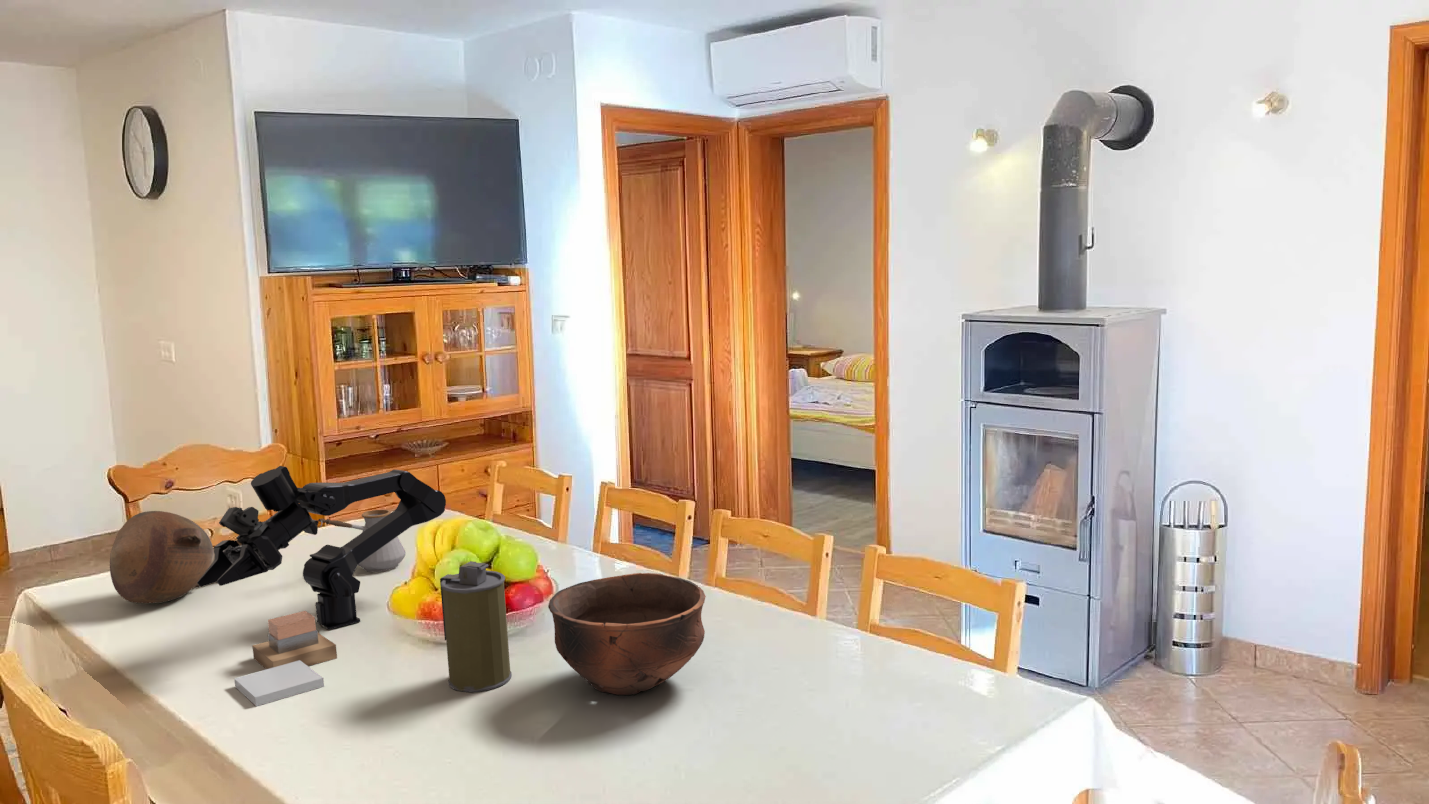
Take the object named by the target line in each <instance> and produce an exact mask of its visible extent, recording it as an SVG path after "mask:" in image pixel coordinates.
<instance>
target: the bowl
mask: <svg viewBox="0 0 1429 804" xmlns="http://www.w3.org/2000/svg"><path fill="white" fill-rule="evenodd" d="M706 598H707V595H706V594H705V592H704V590H703V589H702V588H701V587H700V586H699V585H698V584H696V583H695V582H692V581H691V580H688V579H684V578H681V577H678V576H671V575H666V574H663V573H656V572H655V573H653V572H643V573H642V572H637V573H636V572H634V573H628V574H626V573H625V574H622V575H617V576H608V577H602V578H598V579H597V578H596V579H591V580H586V581H583V582H578V583H576V584H572V585H570V586H566V588H562V589H560V590H558V591H557V592H556V593H555V594H553V596H552V597H551V598H550V599H549V601H548V607H547V608H548V610H549V612H550V613H551V615H552V621H553V624H554V626H553V627H554V628H553V629H554V645H555V648H556V651H557V652H558V654H560V656H561V658H562V660H564V661H565V662H566V663H567V664H568V666H569V667H570V668H572V670H573V671H575V672H576V673H577V674H578V675H579V676H580V677H581V678H583V679H584V680H585V681H586V682H588V684H590V686H591V687H593V688H594V689H596V690H597V691H599V692H602V693H609V694H612V695H618V696H625V695H626V696H630V695H636V694H639V693H641V692H647V691H648V690H650V689H653V688H654V687H657V686H658V685H660V684H662V683H664V682H666V681H667V680H668V679H670V678H671V677H673V676H674V675H676V673H678V672H679V671H680V670H681V669H682V668H683V667H684V666H686V664H687V663H689V662H690V660H691V659H692V657H694V656H695V655H696V653H697V652H698V650H699V649H700V647H701V646H702V645H703V642H704V639H705V633H706V632H705V631H706V630H705V628H704V625H703V619H702V613H703V607H704V604H705V601H706Z"/></svg>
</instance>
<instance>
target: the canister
mask: <svg viewBox="0 0 1429 804" xmlns="http://www.w3.org/2000/svg"><path fill="white" fill-rule="evenodd" d="M489 567H490V566H489V564H488V563H485V562H477V561H474V560H473V561H471V560H470V561H468V562H466V563H465V564H462V565H461V566H459V567H458V569H459V570H458V573H455V574H449V573H448V574H445V575H444V576H441V578H439V581H440V583H439V584H440V585H439V586H440V594H441V609H442V621H443V633H444V634H443V635H444V636H443V637H444V641H446V653H447V667H448V678H449V679H448V681H447V682H448V684H447V685H448V686H449V687H450V688H451V689H453V690H455V691H458V692H463V693H478V692H479V693H480V692H486V691H490V690H494V689H497V688H500V687H501V686H503V685H506V684H508V682H509V681H510V680H511V679H512V675H513V674H512V671H511V662H510V661H511V660H510V651H509V650H510V649H509V636H508V623H507V622H508V621H507V608H506V607H507V606H506V595H505V593H506V592H505V580H506V576H505V575H504V574H503V573H501V572H498V571H494V570H493V571H492V570H486V569H488V568H489Z"/></svg>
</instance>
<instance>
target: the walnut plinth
mask: <svg viewBox="0 0 1429 804" xmlns="http://www.w3.org/2000/svg"><path fill="white" fill-rule="evenodd" d="M251 646H252V654H253V655H252V656H253V660H255V662H257V663H258V664H260V665H261V666H262V667H263V668H264V669H265V670H266V669H270V668H273V667H277V666H281V665H284V664H288V663H291V662H295V661H299V660H300V661H302V662H303V663H304V664H306V665H307V666H308V667H310V666H313V665H317V664H318V665H319V664H321V663H324V662H329V661H331V660H335V659H338V653H337V644H335V643H334V642H333V641H331V640H330V639H328V638H327V637H325V636H324V635H322V634H320V633H319V632H318V644H315V645H311V646H307V647H304V648H300V649H296V650H292V651H289V652H285V653H281V654H278V653H277V652H275V651H274V650H273V649H272V648H270V647H269V640H268V641H265V642H260V643H256V644H253V645H251Z"/></svg>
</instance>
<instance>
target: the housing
mask: <svg viewBox="0 0 1429 804" xmlns="http://www.w3.org/2000/svg"><path fill="white" fill-rule="evenodd" d="M315 618H316V617H315V615H313V614H311V613H309V612H308V611H306V610H302V611H298V612H294V613H289V614H285V615H282V616H278V617H274V618H270V619H267V625H268V633H267V638H268V639H267V640H268V641H269V647H270V648H272V649H273V650H274V651H275V652H277V653H278V654H281V653H285V652H289V651H292V650H296V649H300V648H304V647H307V646H311V645H315V644H318V633H319V632H318V630H317V627H316V619H315Z"/></svg>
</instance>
